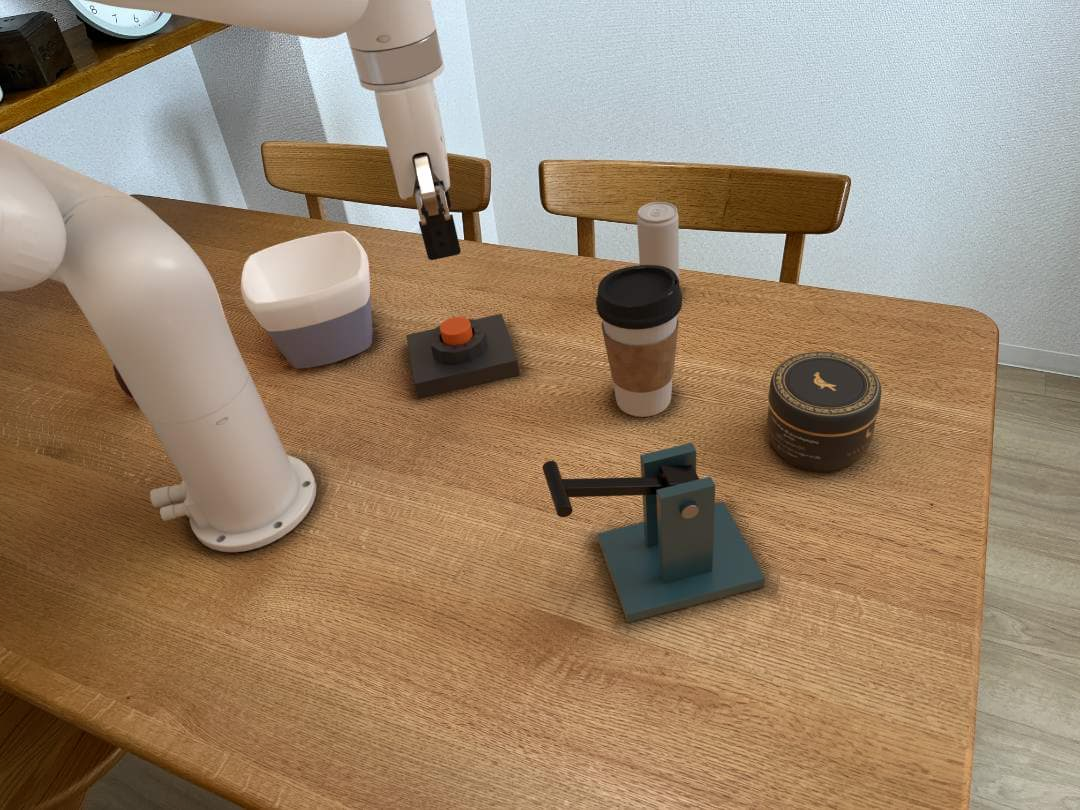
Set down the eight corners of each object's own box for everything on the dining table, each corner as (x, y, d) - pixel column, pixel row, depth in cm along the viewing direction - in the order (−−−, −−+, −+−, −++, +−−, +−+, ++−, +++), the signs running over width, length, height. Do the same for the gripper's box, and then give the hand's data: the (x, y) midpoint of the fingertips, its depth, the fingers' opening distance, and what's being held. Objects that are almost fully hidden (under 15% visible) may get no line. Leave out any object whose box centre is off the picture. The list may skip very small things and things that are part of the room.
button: (444, 349, 93) (441, 337, 92) (440, 332, 96) (437, 320, 94) (475, 342, 93) (472, 330, 92) (470, 325, 96) (467, 313, 95)
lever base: (627, 623, 67) (619, 530, 59) (598, 541, 74) (587, 449, 66) (764, 587, 68) (774, 491, 60) (723, 510, 75) (727, 415, 67)
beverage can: (684, 289, 103) (683, 203, 95) (672, 310, 99) (670, 223, 92) (647, 284, 104) (644, 199, 97) (635, 304, 101) (630, 218, 94)
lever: (554, 523, 60) (560, 500, 59) (539, 477, 64) (545, 454, 62) (699, 518, 63) (709, 496, 62) (678, 474, 67) (686, 453, 66)
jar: (839, 493, 74) (850, 433, 69) (745, 449, 80) (749, 390, 75) (889, 432, 80) (902, 372, 75) (796, 395, 85) (803, 336, 80)
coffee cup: (680, 427, 84) (678, 307, 74) (599, 423, 86) (587, 305, 76) (685, 375, 90) (685, 258, 80) (610, 373, 92) (600, 258, 82)
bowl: (377, 294, 111) (356, 221, 103) (398, 355, 99) (375, 278, 92) (265, 325, 108) (235, 252, 101) (273, 392, 97) (240, 315, 89)
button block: (418, 398, 92) (410, 371, 90) (410, 349, 100) (402, 322, 97) (520, 375, 93) (515, 347, 91) (504, 327, 101) (499, 301, 98)
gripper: (355, 37, 76) (400, 201, 88) (356, 101, 63) (408, 284, 75) (432, 22, 77) (467, 187, 88) (449, 82, 64) (488, 267, 75)
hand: (440, 231), depth 81 cm, fingers open, 9 cm apart
